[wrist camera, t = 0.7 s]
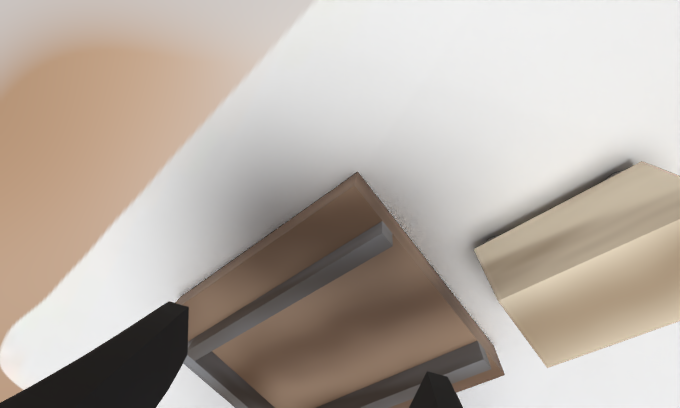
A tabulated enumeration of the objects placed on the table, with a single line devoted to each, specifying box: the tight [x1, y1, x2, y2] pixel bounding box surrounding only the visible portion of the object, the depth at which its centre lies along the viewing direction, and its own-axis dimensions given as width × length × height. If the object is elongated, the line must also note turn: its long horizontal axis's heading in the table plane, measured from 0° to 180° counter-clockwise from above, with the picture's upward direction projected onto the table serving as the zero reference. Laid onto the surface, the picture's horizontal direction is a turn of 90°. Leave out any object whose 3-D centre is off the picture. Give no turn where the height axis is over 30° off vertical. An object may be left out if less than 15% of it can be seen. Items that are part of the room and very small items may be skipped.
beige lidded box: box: [474, 161, 680, 368], centre depth 14 cm, size 4×8×6 cm, turn 128°
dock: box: [176, 172, 505, 408], centre depth 19 cm, size 14×15×3 cm
